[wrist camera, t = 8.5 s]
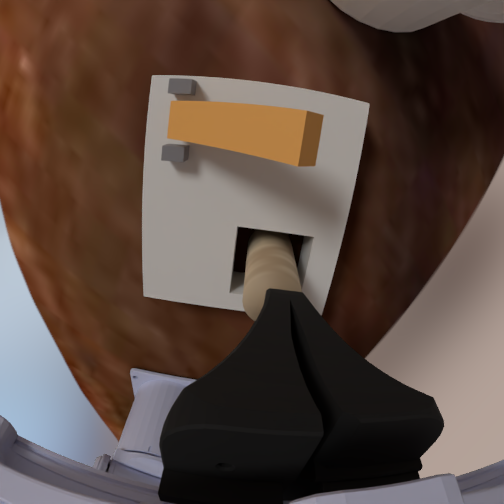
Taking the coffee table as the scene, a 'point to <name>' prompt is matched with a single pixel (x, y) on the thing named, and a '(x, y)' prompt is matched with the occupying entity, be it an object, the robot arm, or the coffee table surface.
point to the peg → (268, 268)
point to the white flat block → (242, 193)
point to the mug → (418, 12)
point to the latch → (249, 129)
